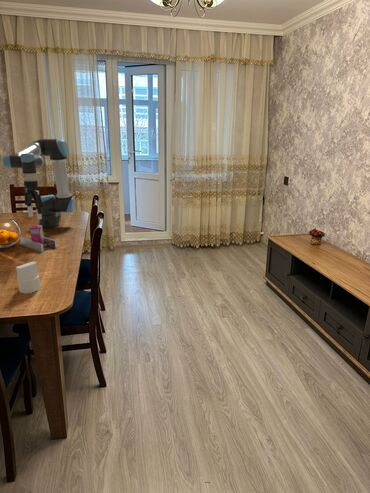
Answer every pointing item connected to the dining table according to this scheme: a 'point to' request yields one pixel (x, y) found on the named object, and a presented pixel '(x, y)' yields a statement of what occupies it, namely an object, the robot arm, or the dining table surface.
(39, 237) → the supplement box
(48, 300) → the dining table surface
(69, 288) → the dining table surface
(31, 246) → the mounting rail
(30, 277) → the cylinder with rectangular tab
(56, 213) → the food container
